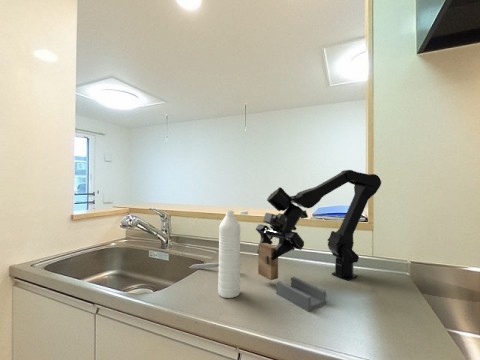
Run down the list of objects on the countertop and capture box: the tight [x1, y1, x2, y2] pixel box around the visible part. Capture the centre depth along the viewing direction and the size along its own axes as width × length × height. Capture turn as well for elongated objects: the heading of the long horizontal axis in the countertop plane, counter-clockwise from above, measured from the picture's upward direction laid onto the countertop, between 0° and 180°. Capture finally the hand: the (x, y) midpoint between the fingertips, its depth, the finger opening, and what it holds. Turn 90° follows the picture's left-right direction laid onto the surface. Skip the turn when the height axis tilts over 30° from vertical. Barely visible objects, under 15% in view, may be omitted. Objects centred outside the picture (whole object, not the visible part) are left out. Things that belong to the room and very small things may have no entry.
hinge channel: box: [275, 276, 327, 312], centre depth 68 cm, size 7×12×4 cm, turn 34°
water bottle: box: [217, 210, 249, 299], centre depth 71 cm, size 9×6×25 cm
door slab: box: [257, 243, 279, 281], centre depth 77 cm, size 4×6×10 cm, turn 34°
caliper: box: [188, 262, 219, 270], centre depth 89 cm, size 20×1×6 cm, turn 73°
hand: (264, 256), depth 76 cm, fingers closed on door slab, 6 cm apart
